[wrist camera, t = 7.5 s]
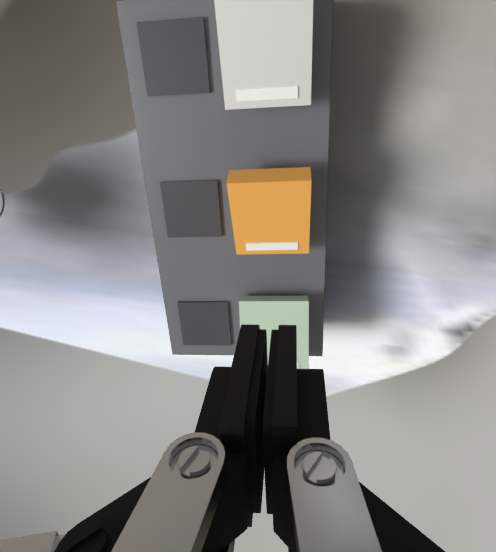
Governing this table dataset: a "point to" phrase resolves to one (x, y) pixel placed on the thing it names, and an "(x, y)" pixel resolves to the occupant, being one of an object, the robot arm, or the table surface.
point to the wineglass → (1, 201)
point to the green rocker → (279, 319)
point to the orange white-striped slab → (270, 210)
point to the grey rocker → (265, 52)
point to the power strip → (219, 170)
